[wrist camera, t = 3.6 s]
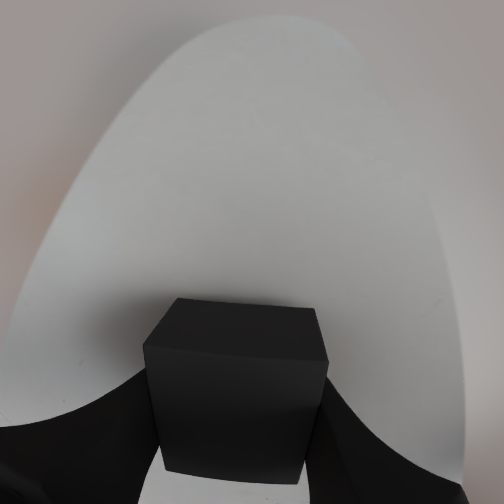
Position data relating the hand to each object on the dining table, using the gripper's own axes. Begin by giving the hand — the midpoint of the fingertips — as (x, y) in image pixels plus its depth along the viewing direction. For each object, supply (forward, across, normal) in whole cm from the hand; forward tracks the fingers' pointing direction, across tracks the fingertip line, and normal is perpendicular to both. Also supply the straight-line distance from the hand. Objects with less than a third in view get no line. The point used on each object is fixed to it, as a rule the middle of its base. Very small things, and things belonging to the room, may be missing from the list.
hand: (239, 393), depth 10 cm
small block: (+1, 0, 0) cm, 1 cm away
